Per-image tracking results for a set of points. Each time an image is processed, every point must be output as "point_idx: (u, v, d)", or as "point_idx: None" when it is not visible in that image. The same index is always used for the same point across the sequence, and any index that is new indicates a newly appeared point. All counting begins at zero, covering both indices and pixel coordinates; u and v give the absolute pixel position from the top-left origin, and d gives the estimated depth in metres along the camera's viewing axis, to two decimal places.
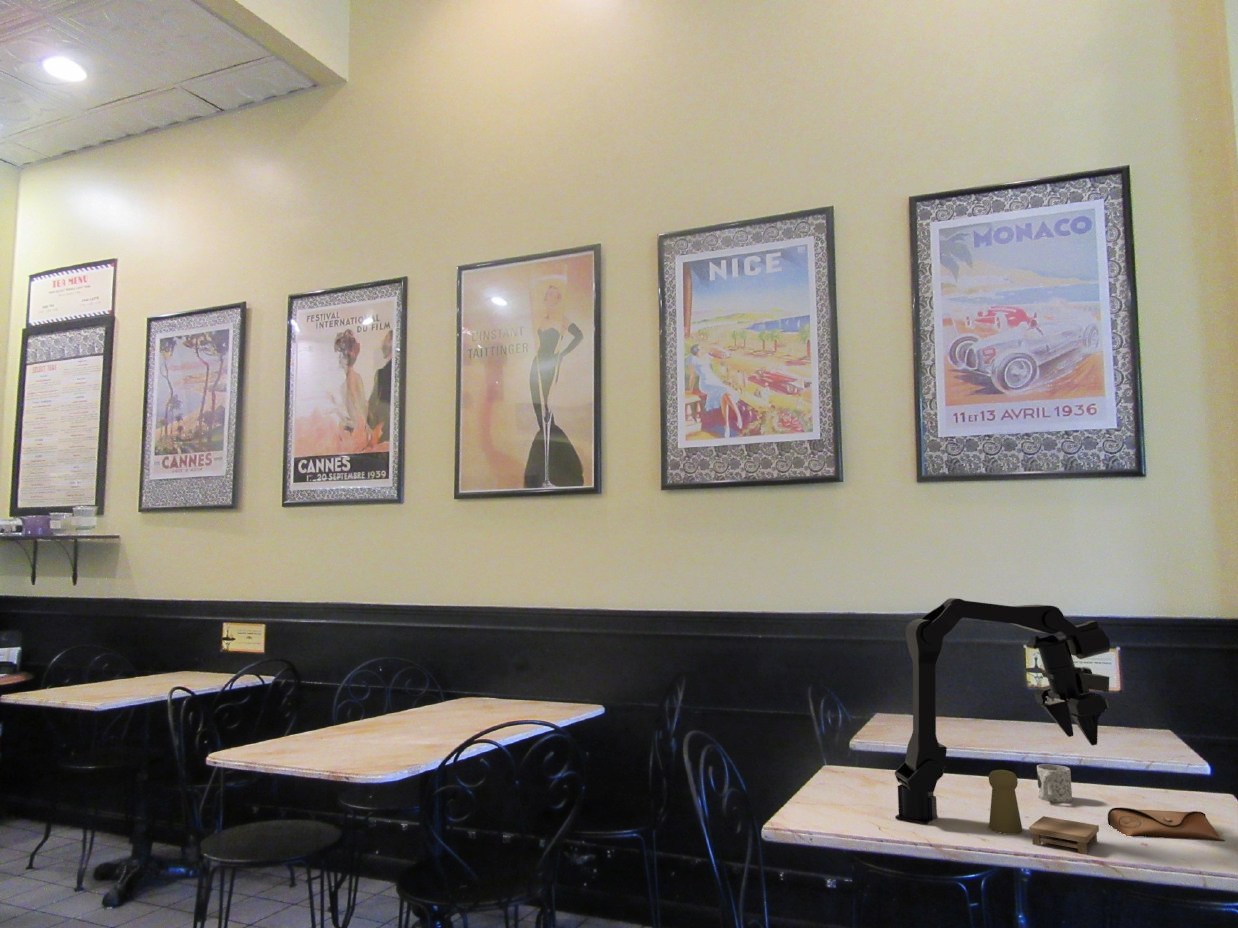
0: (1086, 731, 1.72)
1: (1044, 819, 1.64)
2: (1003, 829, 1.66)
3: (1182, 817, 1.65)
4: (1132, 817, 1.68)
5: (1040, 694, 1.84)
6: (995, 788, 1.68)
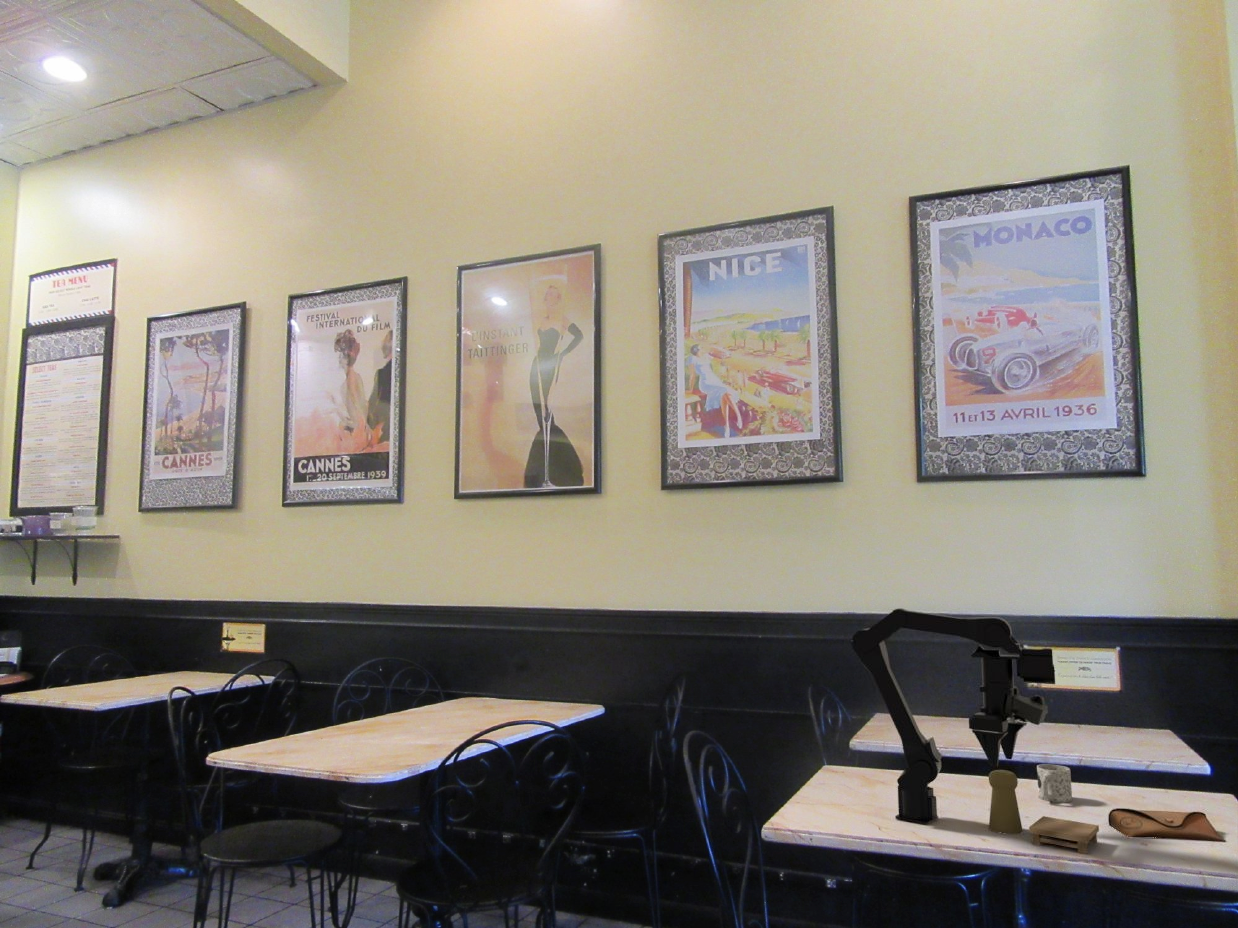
0: (985, 749, 1.67)
1: (1044, 819, 1.64)
2: (1003, 829, 1.66)
3: (1183, 818, 1.65)
4: (1133, 818, 1.67)
5: None
6: (995, 788, 1.68)
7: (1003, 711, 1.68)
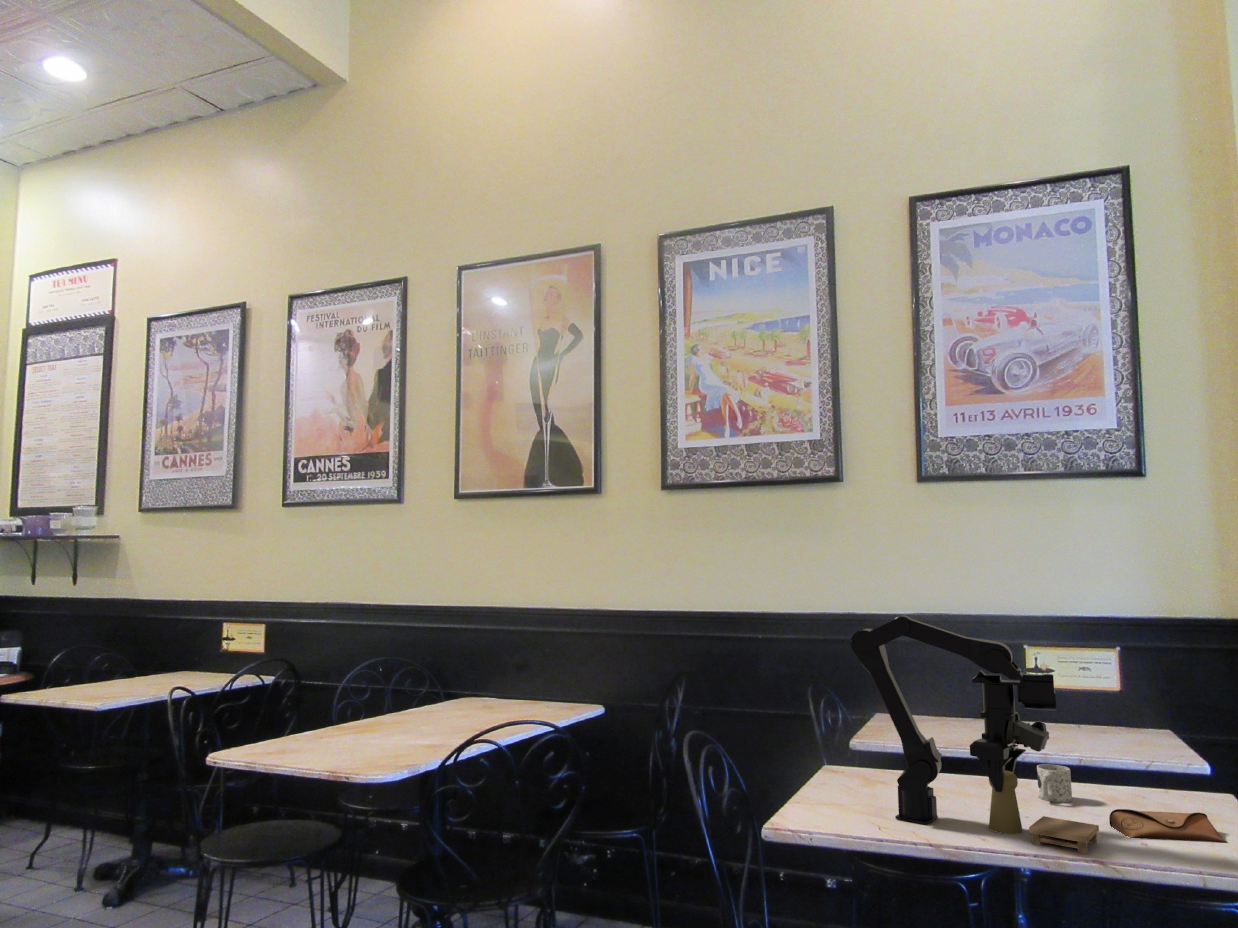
0: (989, 774, 1.67)
1: (1044, 819, 1.64)
2: (1003, 829, 1.66)
3: (1184, 818, 1.64)
4: (1135, 819, 1.66)
5: None
6: None
7: (1004, 737, 1.68)
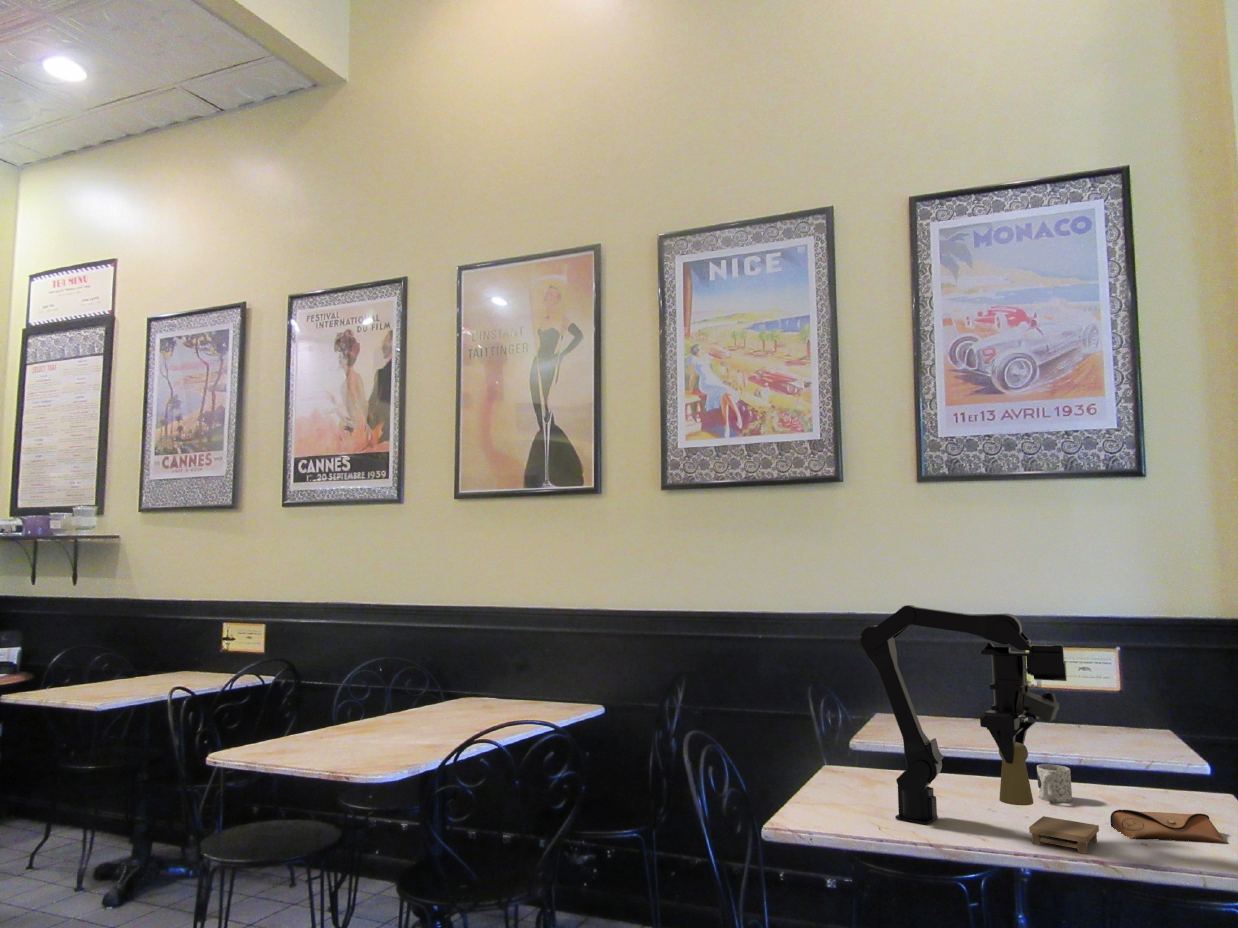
0: (999, 746, 1.66)
1: (1044, 819, 1.64)
2: (1014, 800, 1.65)
3: (1186, 819, 1.64)
4: (1135, 820, 1.66)
5: None
6: None
7: (1014, 708, 1.67)
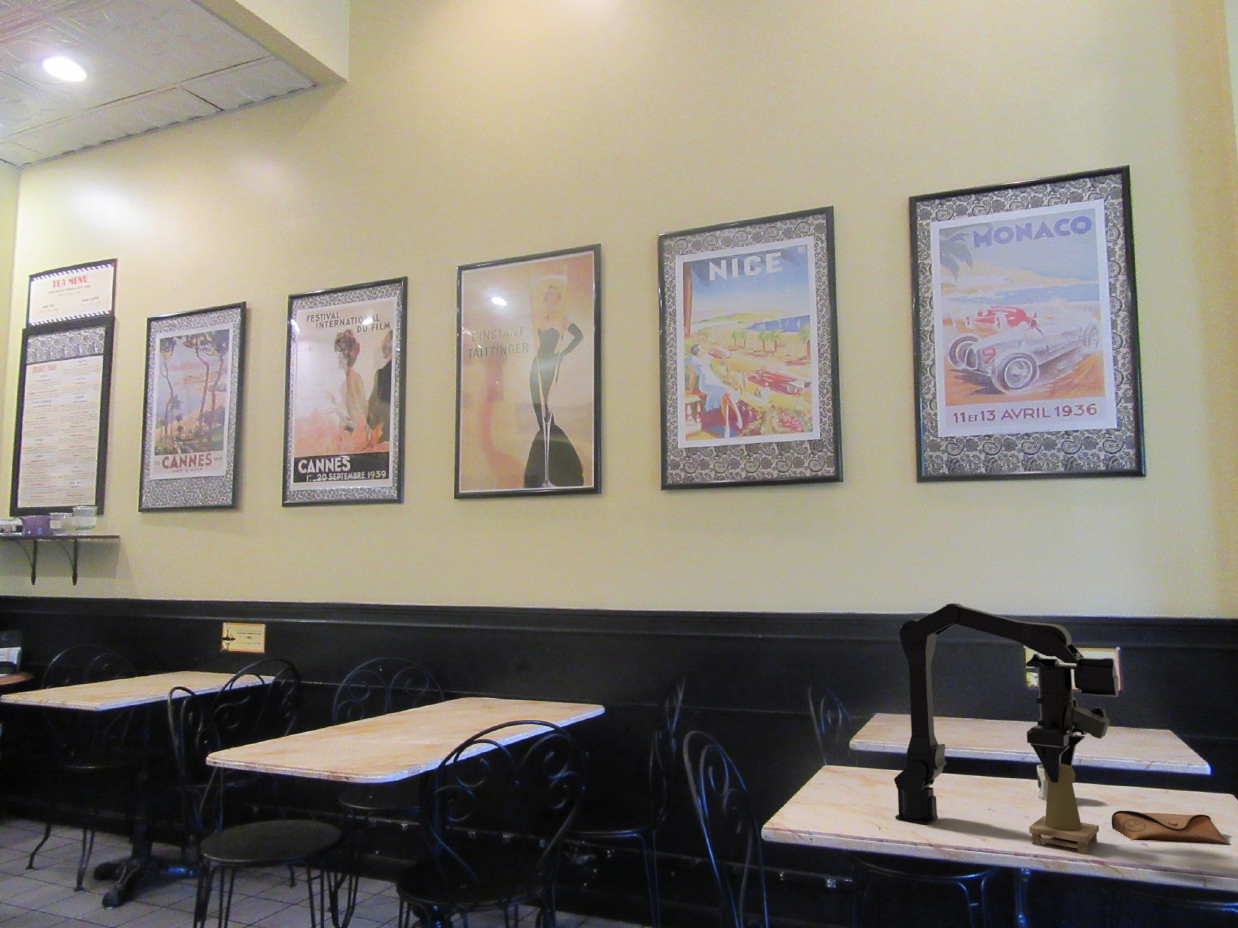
0: (1044, 764, 1.58)
1: (1044, 819, 1.64)
2: (1061, 825, 1.58)
3: (1187, 820, 1.63)
4: (1137, 821, 1.65)
5: None
6: (1051, 783, 1.60)
7: (1062, 724, 1.60)
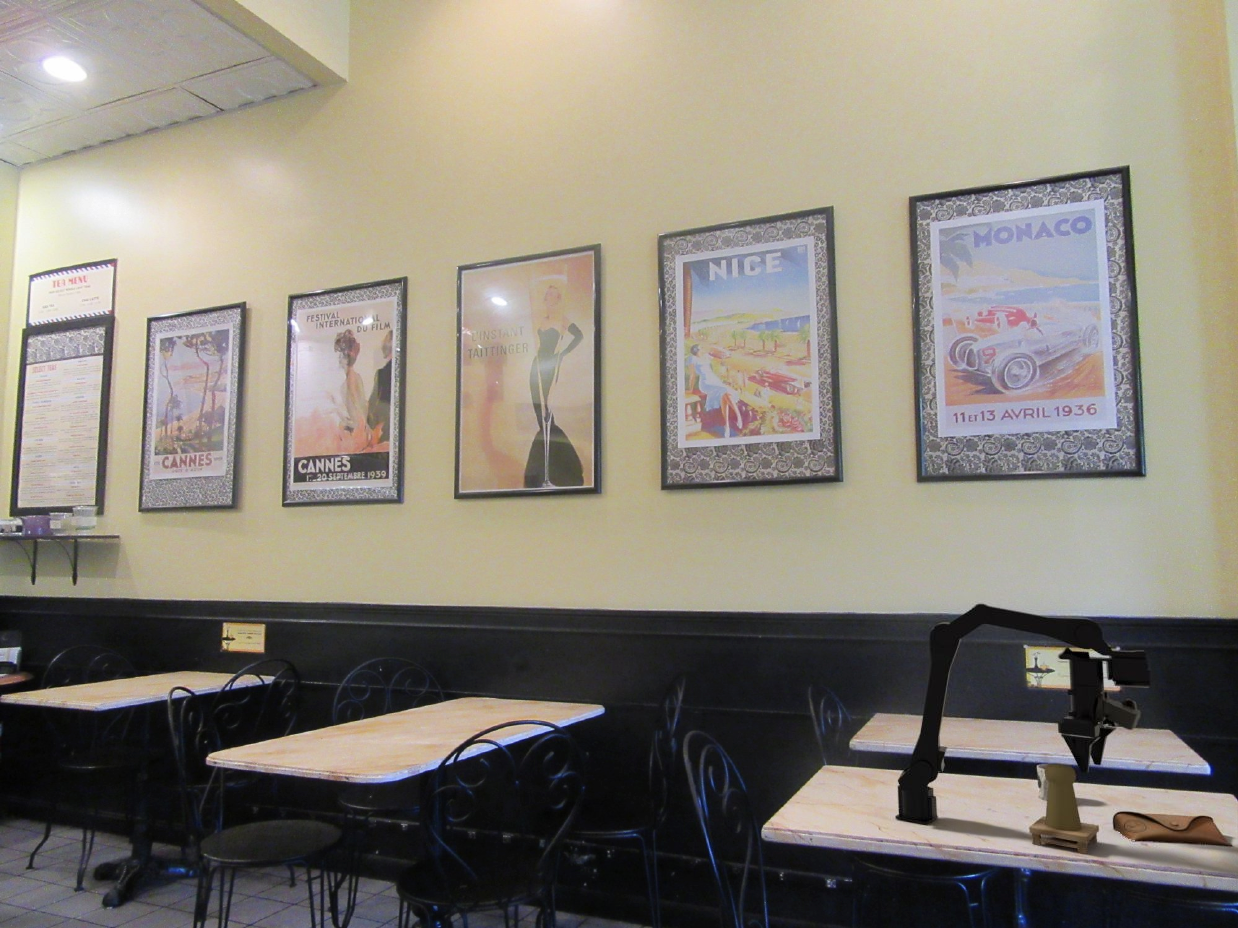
0: (1074, 754, 1.61)
1: (1044, 819, 1.64)
2: (1061, 825, 1.58)
3: (1189, 821, 1.62)
4: (1138, 822, 1.65)
5: None
6: (1052, 783, 1.60)
7: (1093, 715, 1.62)
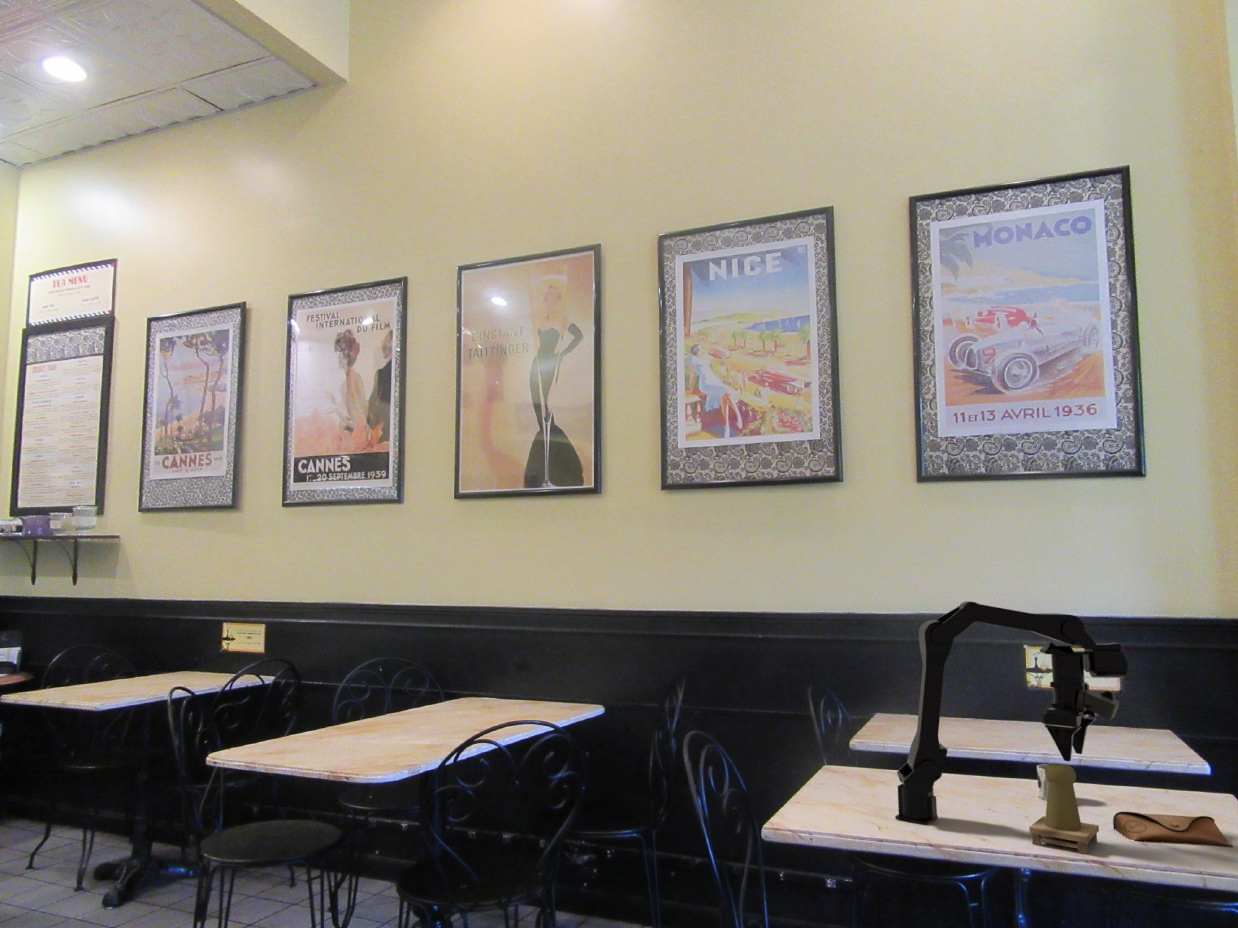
0: (1057, 744, 1.69)
1: (1044, 819, 1.64)
2: (1061, 825, 1.58)
3: (1189, 822, 1.62)
4: (1138, 822, 1.64)
5: None
6: (1052, 783, 1.60)
7: (1075, 706, 1.71)
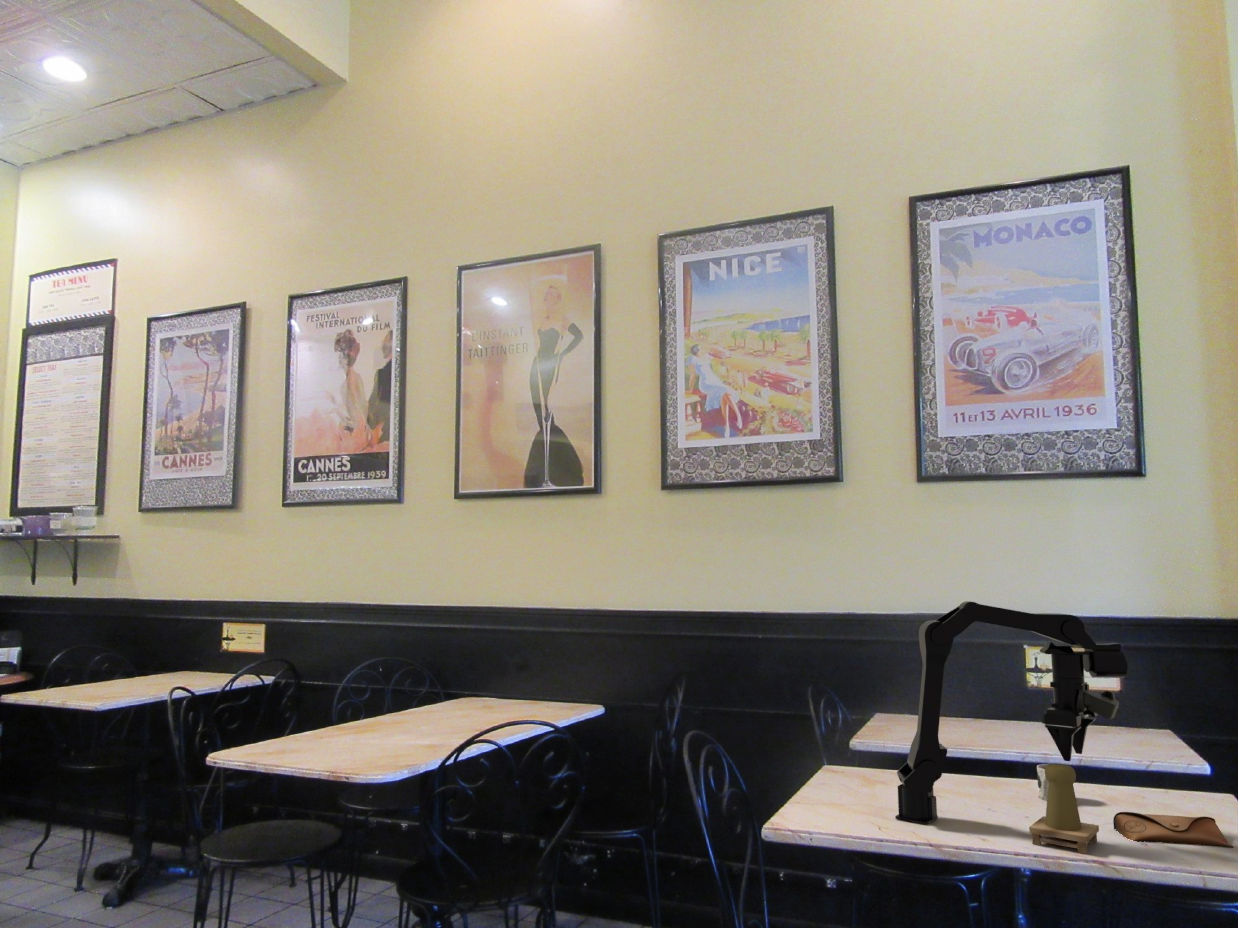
0: (1057, 744, 1.69)
1: (1044, 819, 1.64)
2: (1061, 825, 1.58)
3: (1189, 822, 1.62)
4: (1138, 822, 1.64)
5: None
6: (1052, 783, 1.60)
7: (1075, 706, 1.71)
